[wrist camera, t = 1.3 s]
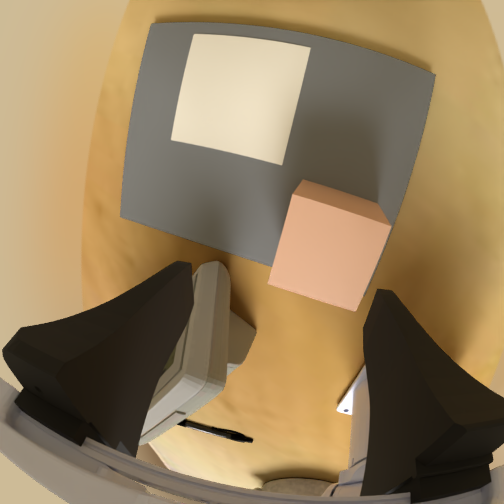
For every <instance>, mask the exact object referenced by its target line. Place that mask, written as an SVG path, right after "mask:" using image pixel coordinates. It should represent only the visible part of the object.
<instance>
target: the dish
mask: <svg viewBox="0 0 504 504" xmlns="http://www.w3.org/2000/svg"><path fill="white" fill-rule="evenodd" d="M331 484H333V483H329V482H325V481H321V480H314V479H302V478H288V479H279V480H274V481H270V482H267V483H266V484H264V486H263V487H262V488H255V489H254V490H259V491H266V492H274V493H282V494H293V495H306V496H322V494H323V493H324V492H325V490H326V489H327V488H328V487H329V486H330V485H331Z"/></svg>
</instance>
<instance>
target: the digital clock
mask: <svg viewBox="0 0 504 504" xmlns="http://www.w3.org/2000/svg"><path fill="white" fill-rule="evenodd" d="M192 280H193V293H194V306H193V309H192V312H191V315H190V318H189V320H188V323H187V325H186V327H185V329H184V331H183V333H182V335H181V337H180V339H179V341H178V342H177V344H176V346H175V348H174V350H173V352H172V354H171V356H170V357H169V359H168V361H167V363H166V365H165V367H164V369H163V371H162V374H161V376H160V378H159V381H158V384H157V386H156V389H155V392H154V395H153V398H152V401H151V404H150V407H149V410H148V413H147V416H146V419H145V423H144V426H143V430H142V433H141V437H140V441H139V445H143V444H146V443H148V442H150V441H151V440H153V439H155V438H156V437H158V436H160V435H161V434H163V433H164V432H166V431H167V430H169V429H170V428H172V427H173V426H175V425H176V424H178V423H179V422H181V421H182V420H184V419H185V418H187V417H188V416H190V415H191V414H193V413H194V412H196V411H197V410H199V409H200V408H201V407H203V406H204V405H205V404H207V403H208V402H209V401H211V400H212V399H213V398H215V397H216V396H217V395H218V394H219V393H220V392H221V391H222V390H223V389H224V387H225V383H226V377H227V375H229V374H230V373H231V372H232V371H233V370H235V369H236V368H237V367H238V366H240V365H241V364H242V363H243V362H244V360H245V358H246V356H247V354H248V352H249V349H250V347H251V345H252V342H253V340H254V338H255V336H256V333H257V332H256V330H255V329H254V328H253V327H252V326H250V325H249V324H248V323H247V322H245V321H244V320H243V319H241V318H240V317H239V316H238V315H236V314H235V313H234V312H232V311H231V310H230V290H231V280H230V276H229V273H228V271H227V269H226V267H225V266H224V265H223V264H222V263H221V262H219V261H212V262H208V263H204V264H201V265H200V267H199V268H198V269H197V271H196V272H195V273H194V275H193V276H192Z"/></svg>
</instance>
